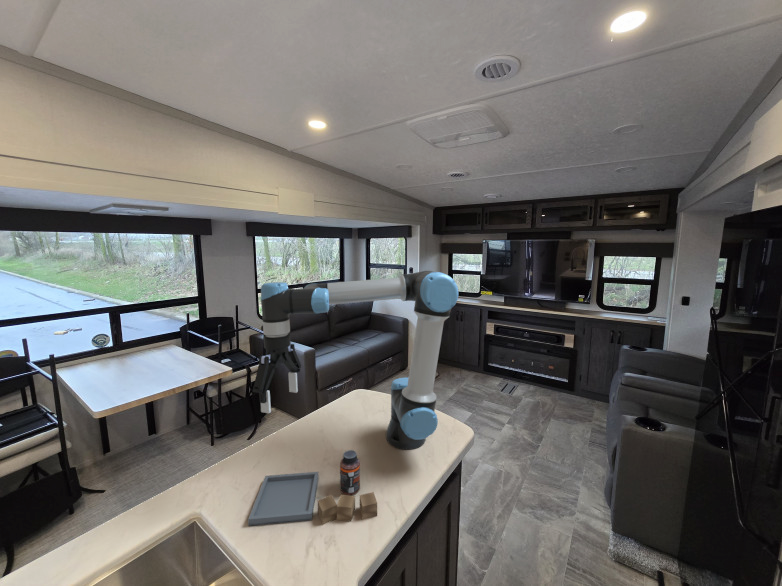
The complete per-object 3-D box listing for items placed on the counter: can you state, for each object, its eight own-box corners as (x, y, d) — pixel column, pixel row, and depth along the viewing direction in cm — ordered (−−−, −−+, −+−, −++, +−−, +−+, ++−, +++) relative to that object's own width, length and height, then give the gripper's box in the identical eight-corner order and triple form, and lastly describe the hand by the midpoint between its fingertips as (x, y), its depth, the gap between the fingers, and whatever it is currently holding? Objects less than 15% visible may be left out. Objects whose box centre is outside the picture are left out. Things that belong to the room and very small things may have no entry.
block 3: (373, 505, 88) (373, 492, 87) (377, 516, 84) (377, 502, 83) (359, 508, 86) (359, 495, 86) (362, 520, 83) (362, 506, 82)
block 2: (355, 509, 86) (355, 496, 86) (351, 521, 82) (351, 507, 82) (341, 507, 87) (340, 494, 86) (336, 519, 83) (336, 506, 82)
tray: (318, 477, 98) (318, 471, 98) (311, 520, 82) (311, 513, 82) (265, 481, 96) (265, 475, 96) (248, 526, 80) (248, 519, 80)
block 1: (331, 507, 86) (331, 494, 86) (337, 518, 83) (337, 504, 83) (317, 514, 84) (317, 500, 84) (322, 525, 81) (322, 511, 81)
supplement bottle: (356, 498, 90) (356, 462, 88) (337, 494, 91) (336, 459, 90) (362, 483, 96) (362, 449, 94) (344, 480, 97) (343, 446, 95)
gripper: (290, 324, 106) (293, 383, 109) (234, 345, 82) (240, 420, 85) (310, 325, 104) (312, 386, 107) (258, 347, 80) (263, 424, 83)
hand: (280, 401), depth 96 cm, fingers open, 13 cm apart
